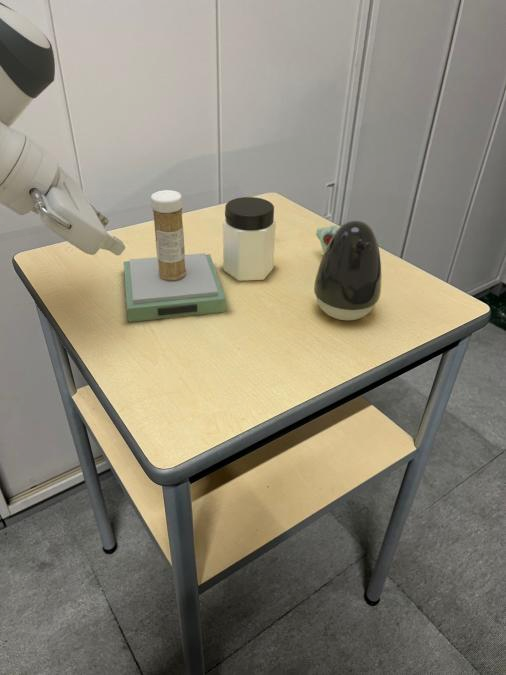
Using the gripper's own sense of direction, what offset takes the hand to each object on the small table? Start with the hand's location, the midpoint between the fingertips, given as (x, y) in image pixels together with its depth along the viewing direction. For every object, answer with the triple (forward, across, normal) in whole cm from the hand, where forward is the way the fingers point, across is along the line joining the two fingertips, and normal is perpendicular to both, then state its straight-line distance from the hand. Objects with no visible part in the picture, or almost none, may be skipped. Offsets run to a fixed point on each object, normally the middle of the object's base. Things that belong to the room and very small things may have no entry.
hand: (113, 236), depth 75 cm
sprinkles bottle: (+12, 0, 0) cm, 12 cm away
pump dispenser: (+31, -16, -14) cm, 37 cm away
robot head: (+36, 0, -19) cm, 41 cm away
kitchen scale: (+14, 0, +2) cm, 15 cm away
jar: (+25, +2, -8) cm, 26 cm away
